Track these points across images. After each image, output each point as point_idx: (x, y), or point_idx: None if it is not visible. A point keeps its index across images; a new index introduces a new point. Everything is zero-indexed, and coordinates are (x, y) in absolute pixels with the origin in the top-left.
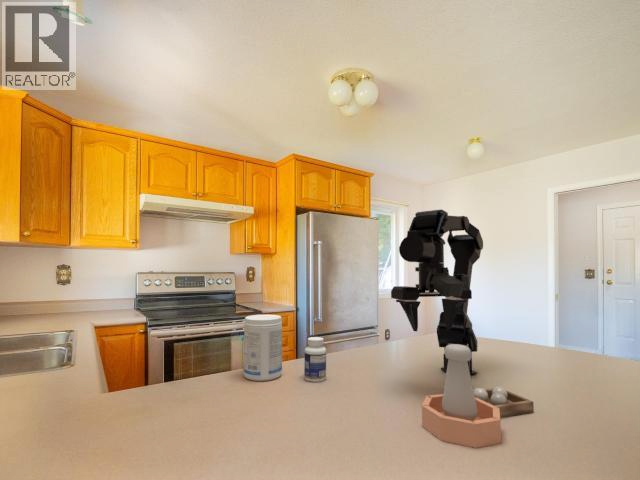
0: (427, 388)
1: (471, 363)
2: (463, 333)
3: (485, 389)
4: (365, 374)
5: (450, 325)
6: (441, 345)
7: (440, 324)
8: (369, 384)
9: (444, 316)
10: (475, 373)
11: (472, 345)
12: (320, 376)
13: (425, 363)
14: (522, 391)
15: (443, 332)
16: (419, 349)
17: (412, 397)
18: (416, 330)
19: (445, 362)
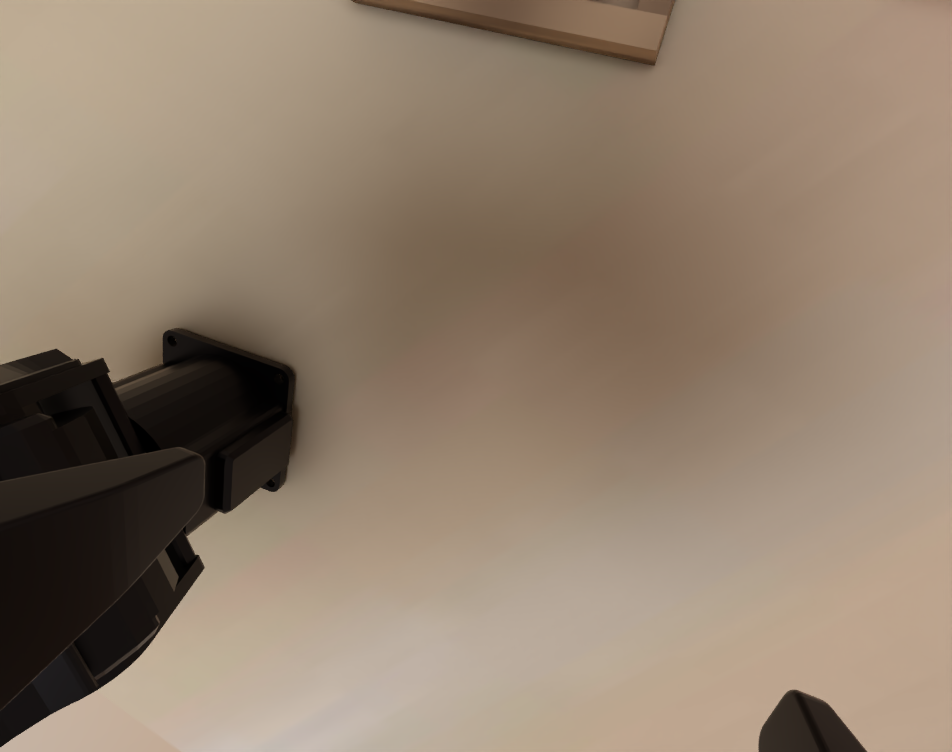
0: (604, 357)
1: (136, 375)
2: (7, 437)
3: (437, 5)
4: (710, 699)
5: (144, 470)
6: (187, 561)
7: (59, 687)
8: (852, 602)
9: (25, 679)
10: (178, 330)
11: (41, 370)
12: None
13: (275, 586)
14: (155, 2)
15: (119, 601)
16: (148, 704)
17: (840, 313)
18: (824, 705)
19: (263, 471)
